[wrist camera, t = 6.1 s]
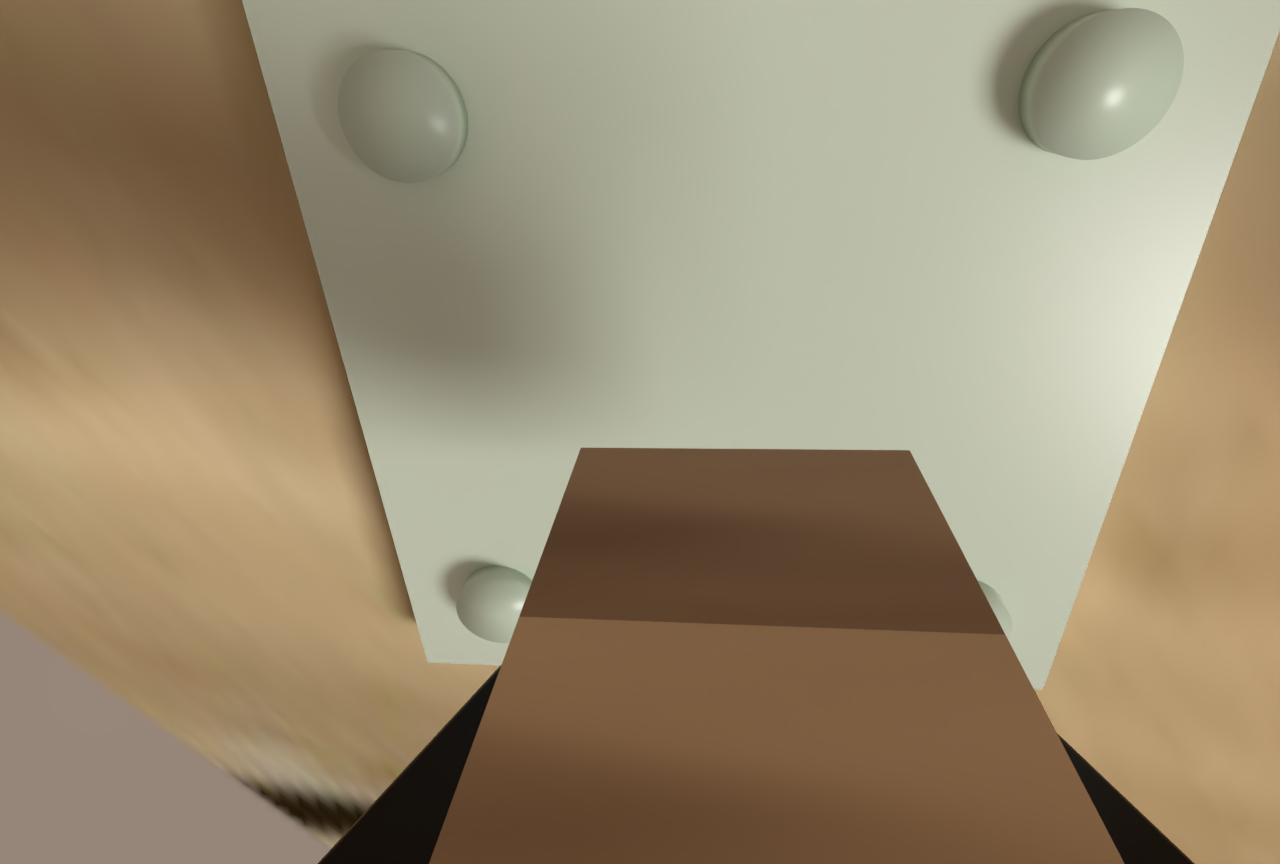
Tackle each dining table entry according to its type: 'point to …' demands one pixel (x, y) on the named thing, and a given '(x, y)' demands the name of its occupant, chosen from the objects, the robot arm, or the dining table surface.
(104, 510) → the dining table surface
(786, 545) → the brown rectangular block
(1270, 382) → the dining table surface
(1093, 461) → the baseplate
